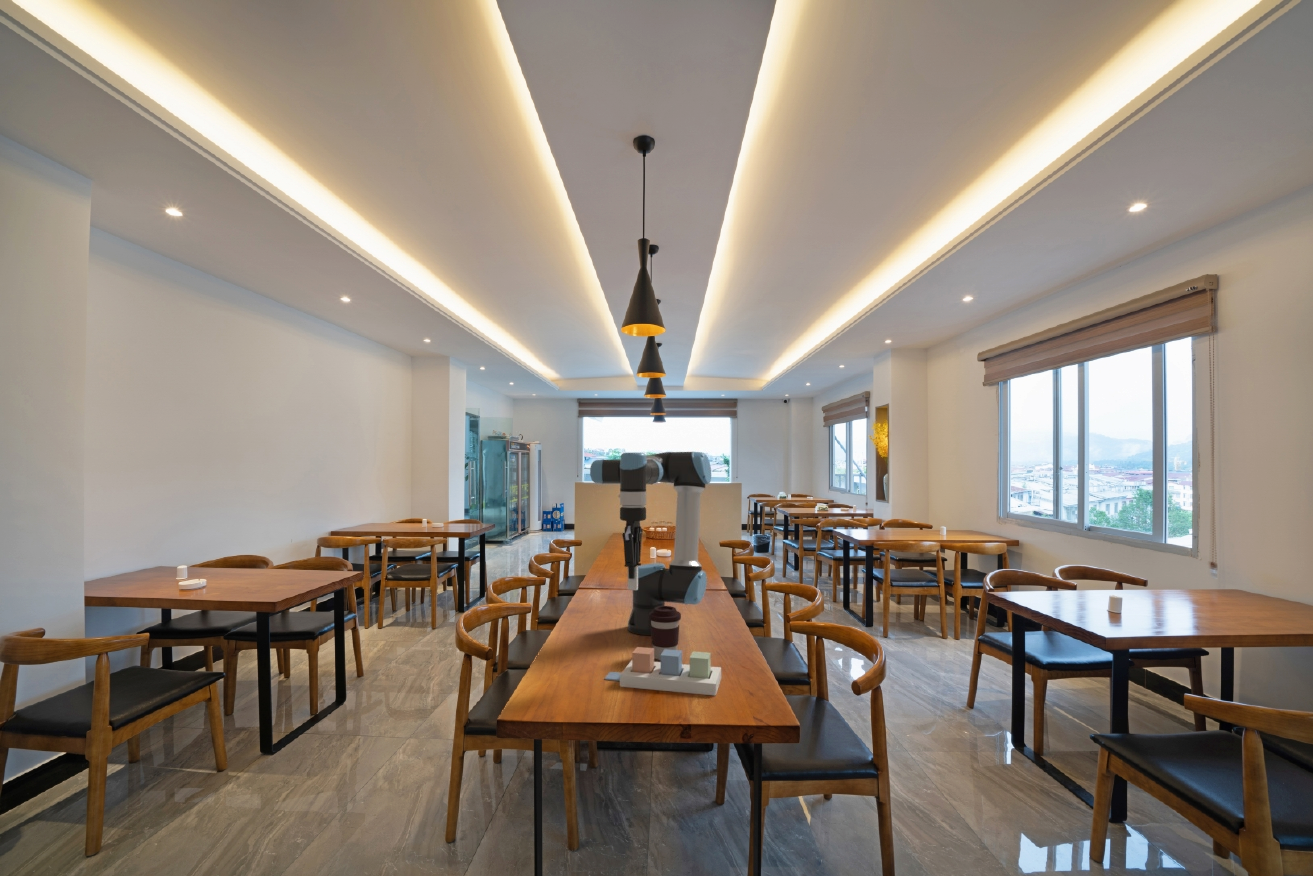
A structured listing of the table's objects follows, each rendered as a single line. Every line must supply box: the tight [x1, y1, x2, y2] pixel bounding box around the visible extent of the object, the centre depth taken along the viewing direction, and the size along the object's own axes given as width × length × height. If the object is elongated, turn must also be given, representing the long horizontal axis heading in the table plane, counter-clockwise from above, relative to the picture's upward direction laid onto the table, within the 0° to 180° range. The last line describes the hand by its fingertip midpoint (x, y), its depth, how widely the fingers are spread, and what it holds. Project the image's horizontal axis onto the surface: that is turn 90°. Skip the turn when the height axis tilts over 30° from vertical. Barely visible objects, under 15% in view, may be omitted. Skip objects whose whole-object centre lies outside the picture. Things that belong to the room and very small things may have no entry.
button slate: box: [660, 649, 683, 676], centre depth 155 cm, size 5×5×5 cm
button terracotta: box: [631, 646, 655, 673], centre depth 157 cm, size 5×5×5 cm
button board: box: [619, 659, 722, 697], centre depth 155 cm, size 12×26×3 cm, turn 77°
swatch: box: [604, 671, 622, 682], centre depth 158 cm, size 5×5×1 cm
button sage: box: [689, 651, 712, 679], centre depth 153 cm, size 5×5×5 cm
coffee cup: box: [649, 605, 682, 661], centre depth 175 cm, size 10×10×15 cm
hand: (632, 589), depth 160 cm, fingers closed
